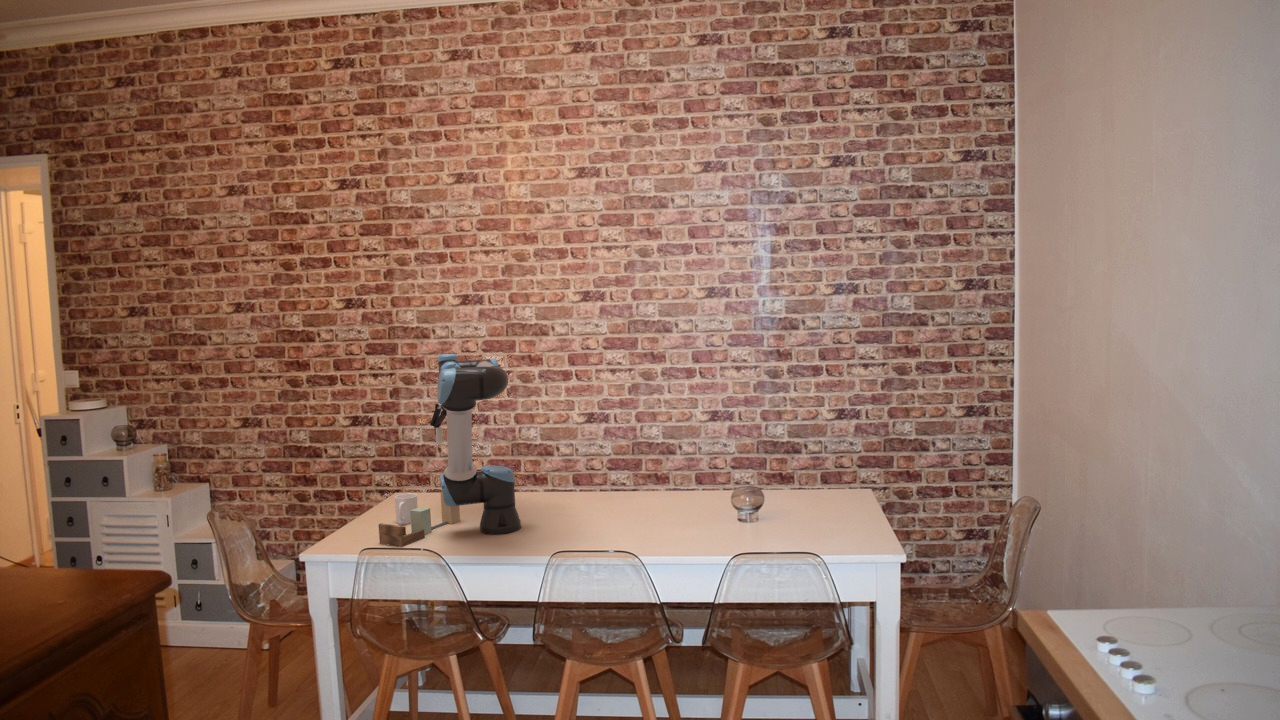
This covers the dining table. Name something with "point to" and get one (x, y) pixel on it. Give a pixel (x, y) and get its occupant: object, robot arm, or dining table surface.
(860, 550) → the dining table surface
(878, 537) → the dining table surface
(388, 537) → the lane
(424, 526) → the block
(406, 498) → the cup
